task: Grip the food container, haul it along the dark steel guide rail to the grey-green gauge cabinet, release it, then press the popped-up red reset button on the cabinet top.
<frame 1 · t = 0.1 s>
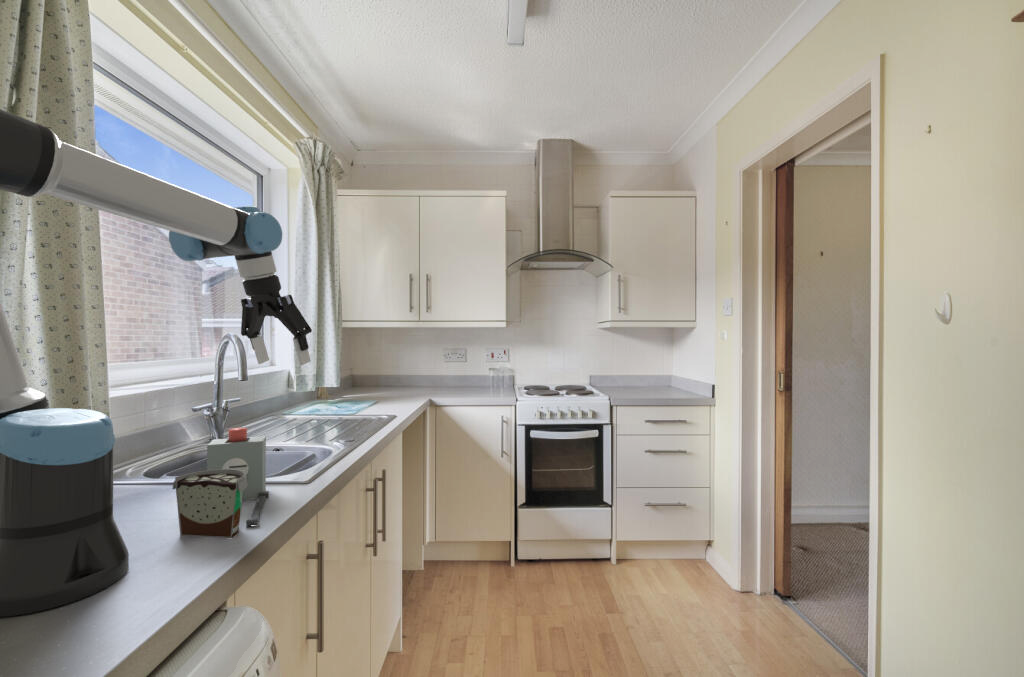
hand: (284, 362, 114), 28 cm above the countertop, tool tilted 20°, fingers open, 13 cm apart
gauge cabinet: (237, 496, 100), on the countertop
guide rail: (258, 510, 92), on the countertop
food container: (218, 531, 82), on the countertop
reset button: (237, 434, 100), point 13 cm above the countertop, slide at 0.0 cm
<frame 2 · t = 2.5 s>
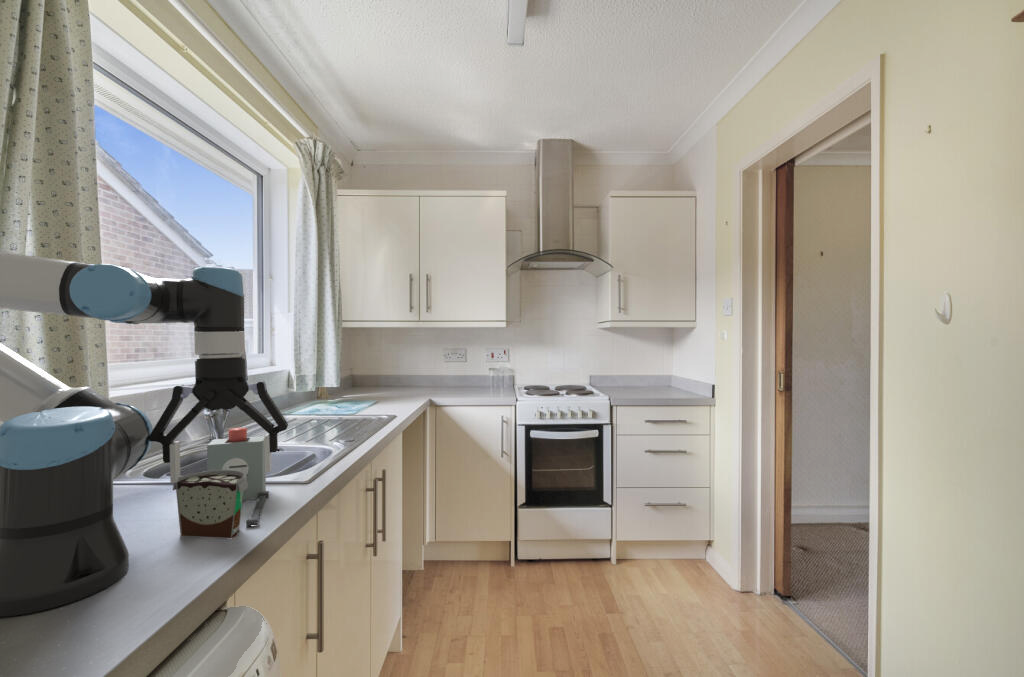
hand: (223, 477, 83), 9 cm above the countertop, tool pointing down, fingers open, 13 cm apart
food container: (219, 532, 82), on the countertop, touching gripper
everything else where it was.
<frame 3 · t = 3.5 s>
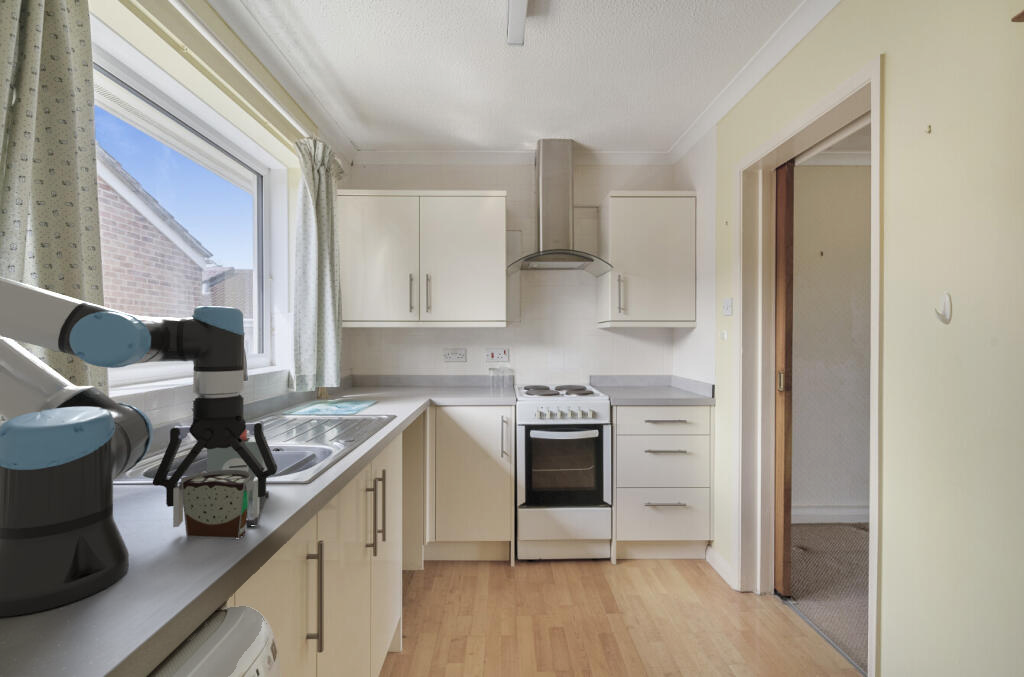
hand: (218, 519, 82), 2 cm above the countertop, tool pointing down, fingers closed on food container, 11 cm apart
food container: (225, 531, 82), on the countertop, touching gripper
everything else where it was.
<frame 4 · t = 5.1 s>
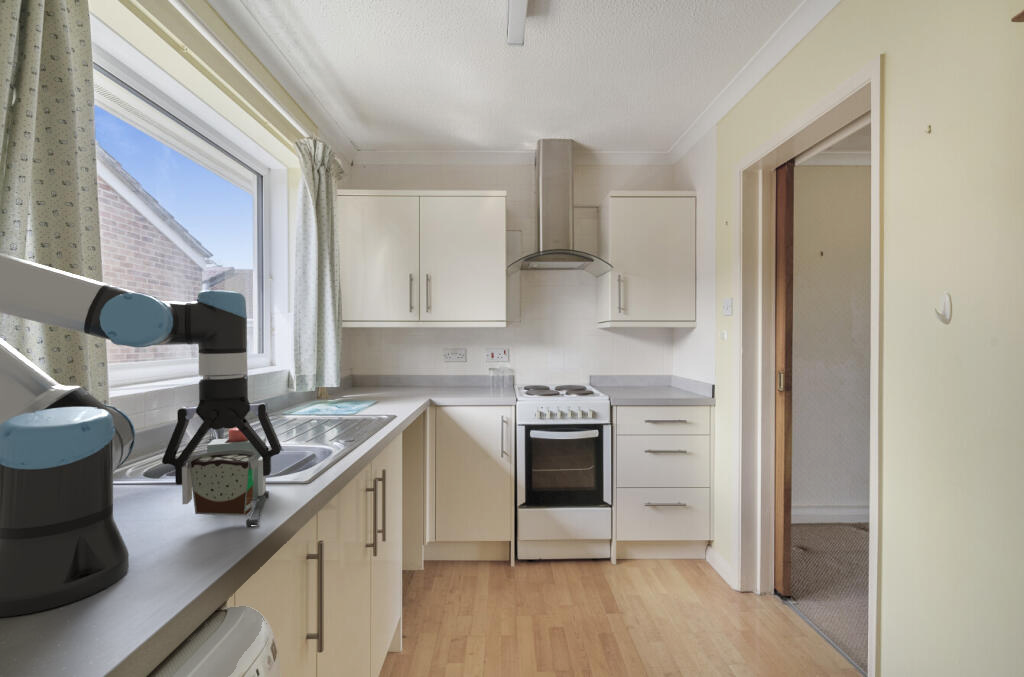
hand: (225, 497, 85), 5 cm above the countertop, tool pointing down, fingers closed on food container, 11 cm apart
food container: (232, 509, 85), point 3 cm above the countertop, touching gripper
everything else where it was.
when the fingers open (3 cm above the countertop, at t = 6.9 s): food container drops 1 cm, on the countertop.
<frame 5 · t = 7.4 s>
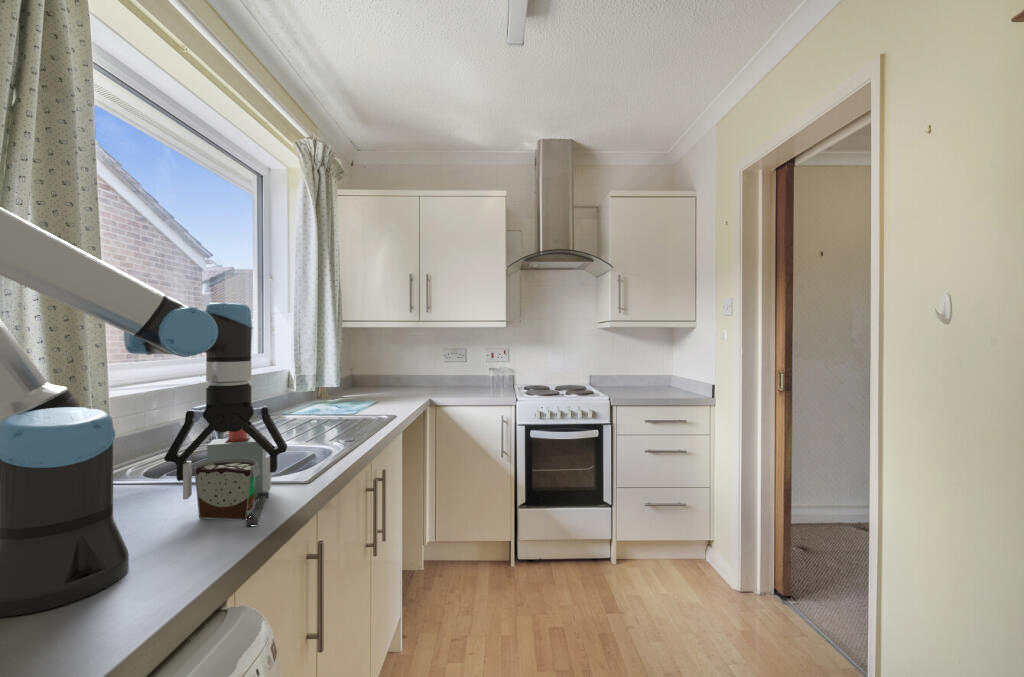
hand: (228, 493, 91), 4 cm above the countertop, tool pointing down, fingers open, 13 cm apart
food container: (233, 514, 90), on the countertop
everything else where it was.
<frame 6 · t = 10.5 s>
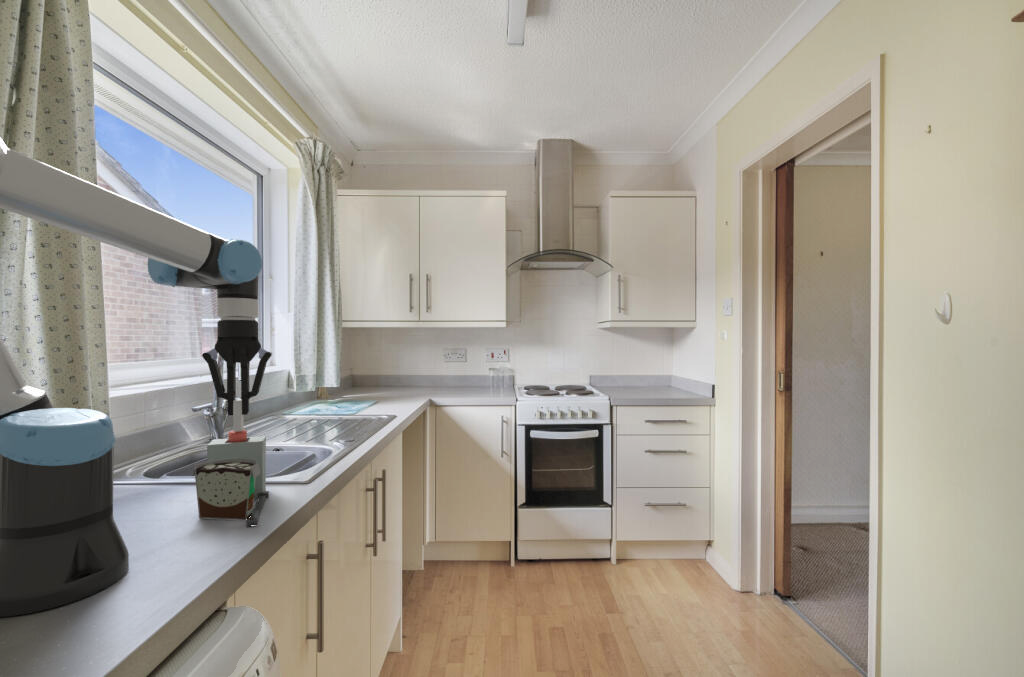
hand: (238, 430, 100), 14 cm above the countertop, tool pointing down, fingers closed
reset button: (237, 437, 100), point 13 cm above the countertop, slide at 0.6 cm, touching gripper
everything else where it was.
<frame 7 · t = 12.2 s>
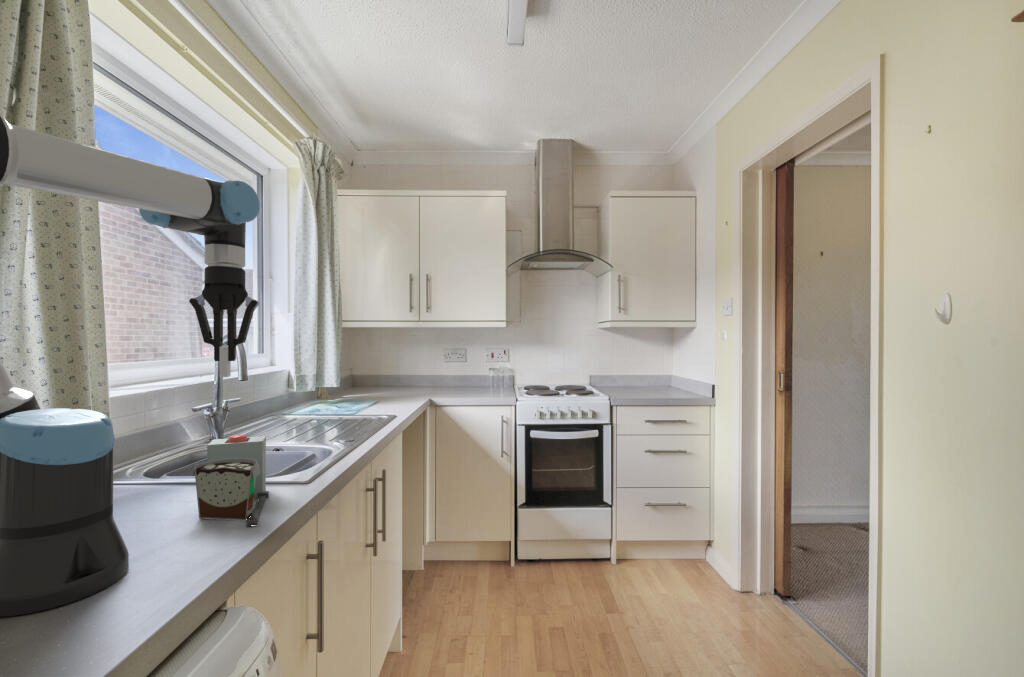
hand: (225, 376, 101), 25 cm above the countertop, tool pointing down, fingers closed
reset button: (237, 441, 100), point 12 cm above the countertop, slide at 1.5 cm
everything else where it was.
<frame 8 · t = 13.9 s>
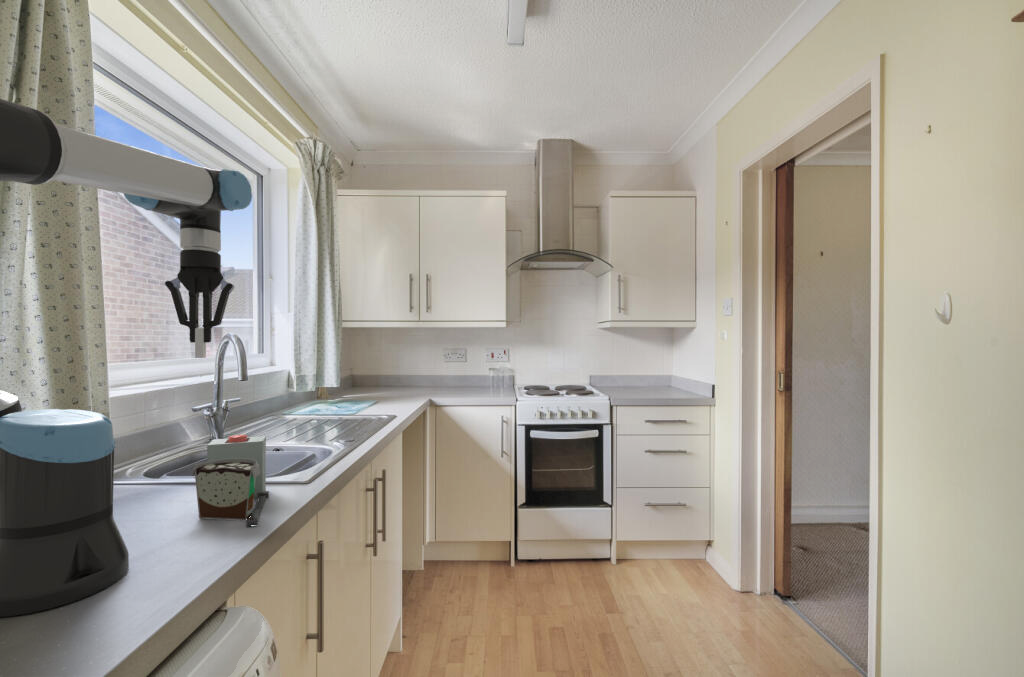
hand: (200, 357, 104), 29 cm above the countertop, tool pointing down, fingers closed
nothing on the countertop moved.
at the end: food container inside the target area (1.7 cm from its centre), on the countertop; food container tilted 0°; reset button slide at 1.5 cm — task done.
